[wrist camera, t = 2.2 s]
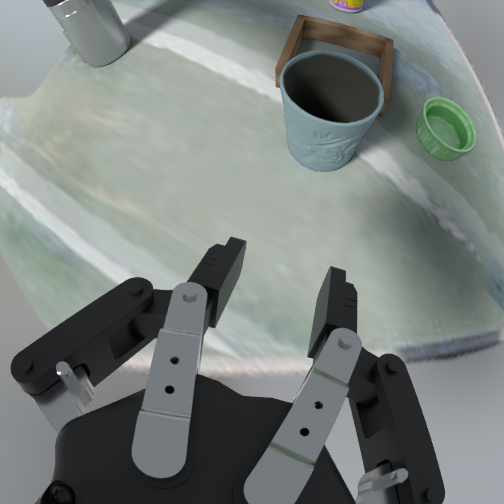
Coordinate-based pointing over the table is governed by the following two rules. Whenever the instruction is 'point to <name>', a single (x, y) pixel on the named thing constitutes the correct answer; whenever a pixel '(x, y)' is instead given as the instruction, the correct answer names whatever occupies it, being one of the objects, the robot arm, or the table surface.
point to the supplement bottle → (347, 5)
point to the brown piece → (341, 37)
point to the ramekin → (445, 129)
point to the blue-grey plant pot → (328, 107)
